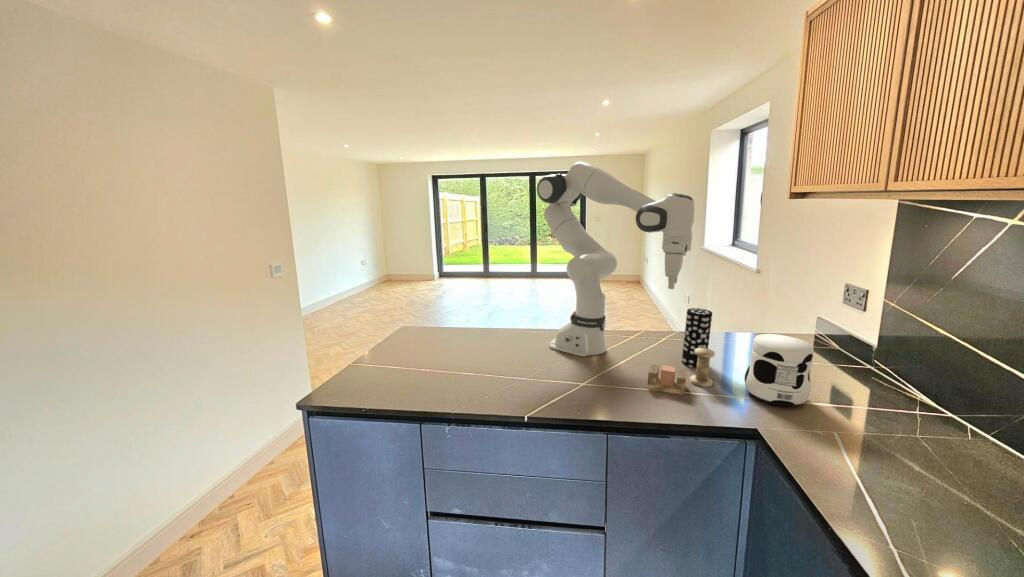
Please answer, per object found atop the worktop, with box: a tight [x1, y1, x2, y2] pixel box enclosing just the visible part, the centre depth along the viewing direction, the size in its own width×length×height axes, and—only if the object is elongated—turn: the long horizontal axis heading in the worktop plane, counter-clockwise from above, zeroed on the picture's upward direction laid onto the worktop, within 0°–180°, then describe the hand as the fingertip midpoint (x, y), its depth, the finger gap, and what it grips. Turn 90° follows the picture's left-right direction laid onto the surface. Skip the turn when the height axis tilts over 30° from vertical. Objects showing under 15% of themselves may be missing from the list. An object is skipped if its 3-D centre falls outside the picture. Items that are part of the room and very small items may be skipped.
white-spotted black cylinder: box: [681, 307, 713, 369], centre depth 155 cm, size 8×8×20 cm
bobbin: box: [689, 348, 715, 388], centre depth 141 cm, size 7×7×11 cm
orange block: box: [659, 365, 676, 387], centre depth 137 cm, size 4×4×5 cm
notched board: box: [646, 364, 688, 396], centre depth 138 cm, size 11×7×6 cm, turn 65°
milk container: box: [744, 333, 815, 407], centre depth 130 cm, size 17×17×18 cm
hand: (672, 285), depth 142 cm, fingers open, 8 cm apart
